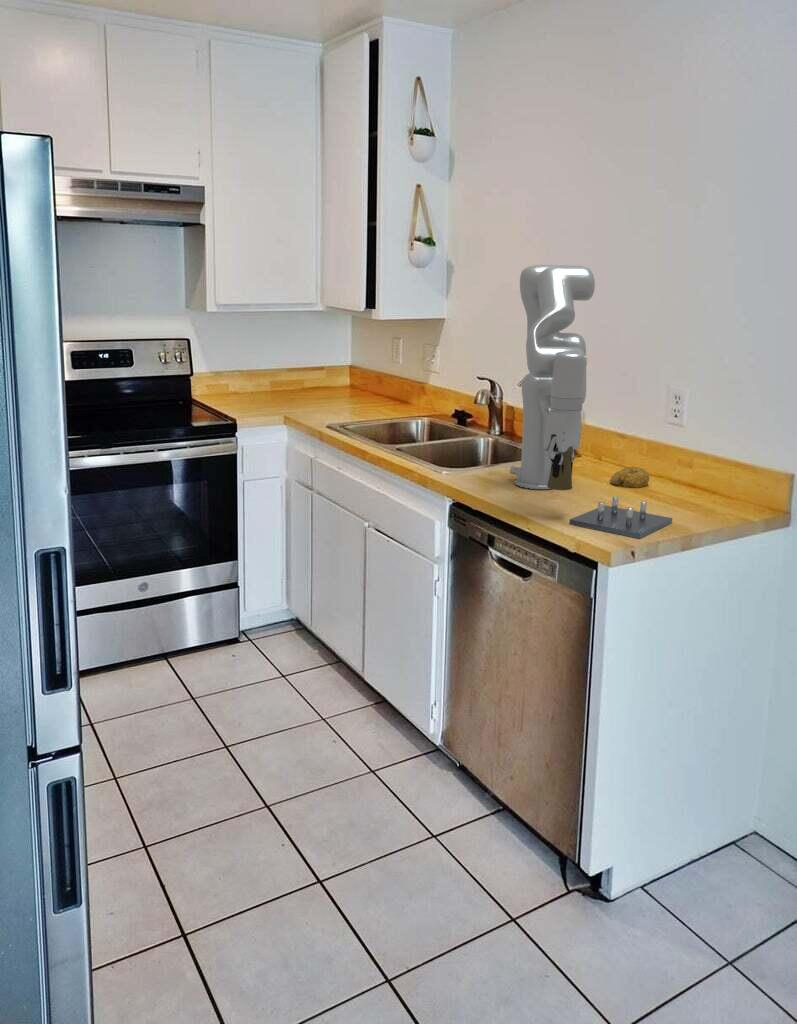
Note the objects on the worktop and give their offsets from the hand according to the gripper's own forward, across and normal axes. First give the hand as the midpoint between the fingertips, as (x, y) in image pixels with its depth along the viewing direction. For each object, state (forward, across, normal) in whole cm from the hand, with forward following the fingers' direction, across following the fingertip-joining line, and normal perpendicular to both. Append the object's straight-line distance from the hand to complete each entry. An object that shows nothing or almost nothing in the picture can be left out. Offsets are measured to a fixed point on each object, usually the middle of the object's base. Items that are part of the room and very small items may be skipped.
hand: (561, 477), depth 223 cm
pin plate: (+10, -4, +15) cm, 18 cm away
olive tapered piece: (+2, 0, 0) cm, 2 cm away
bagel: (+11, -44, -2) cm, 46 cm away
